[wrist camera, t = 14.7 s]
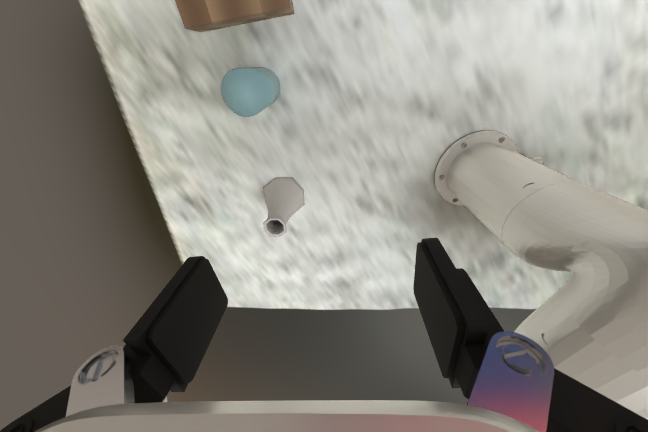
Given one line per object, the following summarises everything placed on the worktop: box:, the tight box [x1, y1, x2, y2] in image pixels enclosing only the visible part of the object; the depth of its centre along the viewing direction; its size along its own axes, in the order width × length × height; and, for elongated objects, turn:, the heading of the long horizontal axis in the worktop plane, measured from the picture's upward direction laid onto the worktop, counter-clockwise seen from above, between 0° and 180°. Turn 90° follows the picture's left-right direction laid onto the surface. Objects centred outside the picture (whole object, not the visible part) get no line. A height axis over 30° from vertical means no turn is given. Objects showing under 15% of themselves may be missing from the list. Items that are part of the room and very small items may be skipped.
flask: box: [263, 178, 304, 236], centre depth 38 cm, size 7×7×10 cm
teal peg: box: [221, 68, 280, 117], centre depth 29 cm, size 4×4×10 cm
